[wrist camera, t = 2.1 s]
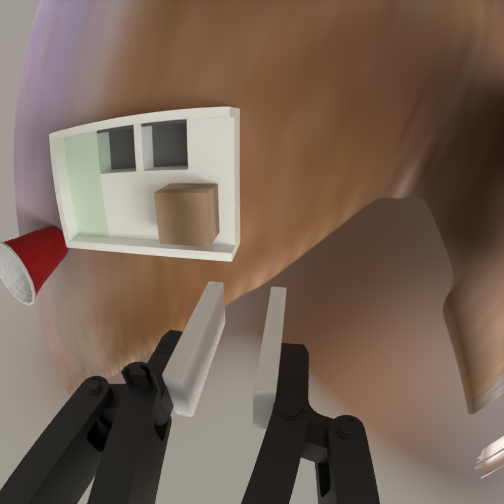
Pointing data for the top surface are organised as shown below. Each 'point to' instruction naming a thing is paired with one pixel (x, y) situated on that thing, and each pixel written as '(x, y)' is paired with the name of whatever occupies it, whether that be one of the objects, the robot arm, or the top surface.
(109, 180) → the box
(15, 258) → the plastic cup
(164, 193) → the walnut block
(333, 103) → the top surface
